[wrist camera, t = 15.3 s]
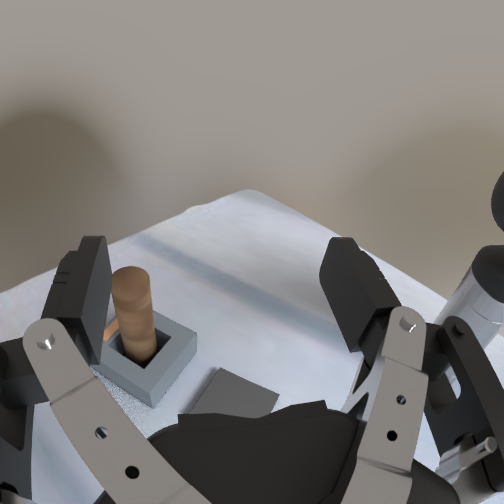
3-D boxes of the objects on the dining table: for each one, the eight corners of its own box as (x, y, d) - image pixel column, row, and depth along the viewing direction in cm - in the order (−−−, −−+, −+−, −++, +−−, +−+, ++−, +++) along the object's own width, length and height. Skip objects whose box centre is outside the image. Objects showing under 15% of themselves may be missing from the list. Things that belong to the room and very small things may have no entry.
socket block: (136, 318, 43) (133, 298, 41) (196, 351, 41) (196, 332, 38) (90, 366, 36) (82, 347, 33) (153, 408, 33) (149, 392, 30)
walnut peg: (140, 343, 40) (127, 261, 32) (165, 357, 39) (157, 276, 31) (122, 363, 37) (101, 283, 29) (147, 379, 36) (131, 300, 28)
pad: (219, 370, 39) (220, 367, 38) (278, 397, 37) (279, 394, 36) (187, 419, 33) (187, 416, 32) (251, 450, 31) (252, 448, 30)
